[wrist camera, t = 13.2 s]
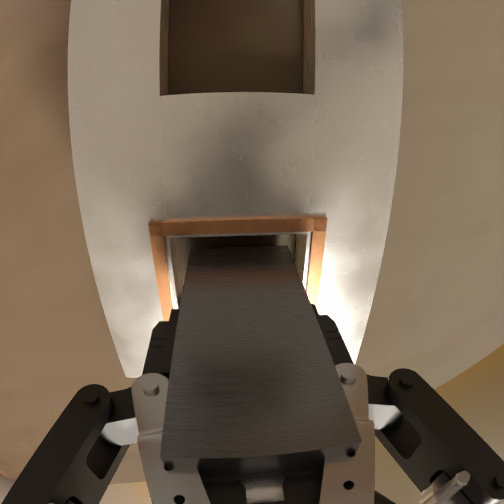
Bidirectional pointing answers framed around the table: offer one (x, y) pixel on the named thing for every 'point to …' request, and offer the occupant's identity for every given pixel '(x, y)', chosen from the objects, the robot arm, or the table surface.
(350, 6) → the rail plate
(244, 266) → the block with round knob
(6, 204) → the table surface
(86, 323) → the table surface
